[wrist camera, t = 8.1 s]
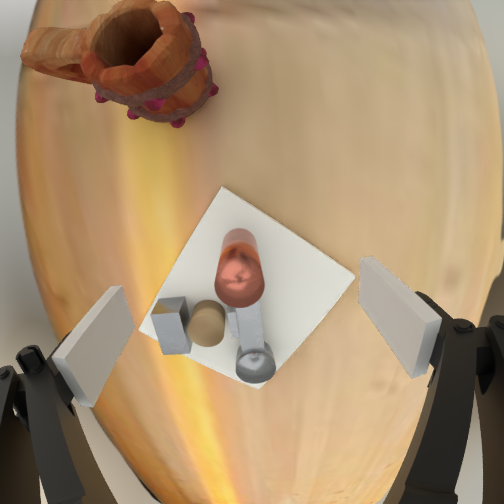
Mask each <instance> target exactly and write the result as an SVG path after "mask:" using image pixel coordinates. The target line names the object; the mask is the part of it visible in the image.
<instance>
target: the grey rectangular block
mask: <svg viewBox="0 0 504 504" xmlns="http://www.w3.org/2000/svg"><path fill="white" fill-rule="evenodd" d="M150 316H151V319H152V322H153V326H154V329H155V332H156V335H157V338H158V341H159V344H160V347H161V350H162V353H163V355H171V354H190V352H191V348H192V343H193V341H192V340H191V339H190V337H189V335H188V326H189V322H190V315H189V311H188V307H187V303H186V299H185V296H182V297H172V298H161V299H158V301H157V303H156V305H155V307H154V308H153V310H152V312H151V314H150Z"/></svg>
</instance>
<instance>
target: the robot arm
mask: <svg viewBox="0 0 504 504" xmlns="http://www.w3.org/2000/svg"><path fill="white" fill-rule="evenodd" d="M358 303H359V304H360V306H361V307H362V308H363V310H364V311H365V312H366V314H367V315H368V317H369V318H370V319H371V321H372V322H373V324H374V325H375V326H376V328H377V329H378V331H379V332H380V334H381V335H382V336H383V338H384V339H385V341H386V342H387V344H388V345H389V347H390V348H391V349H392V351H393V352H394V354H395V355H396V357H397V358H398V360H399V361H400V363H401V364H402V366H403V367H404V369H405V370H406V372H407V373H408V375H409V376H410V378H411V379H412V378H415V377H418V376H421V375H423V374H426V372H427V369H428V366H429V363H430V364H431V365H432V366H433V367H434V370H433V373H432V376H431V378H430V381H429V384H428V386H427V387H429V388H428V392H427V396H426V399H425V403H424V406H423V409H422V412H421V416H420V419H419V422H418V425H417V427H416V430H415V433H414V436H413V439H412V441H411V444H410V446H409V449H408V452H407V454H406V456H405V459H404V461H403V463H402V466H401V468H400V470H399V472H398V475H397V477H396V479H395V481H394V483H393V485H392V487H391V489H390V491H389V493H388V495H387V497H386V499H385V501H384V503H383V504H457V502H458V496H457V495H456V494H455V491H454V490H455V486H456V483H457V479H458V476H459V472H460V469H461V465H462V461H463V457H464V453H465V448H466V443H467V439H468V433H469V428H470V422H471V415H472V408H473V400H474V390H475V394H476V400H477V406H478V413H479V419H480V429H481V438H482V453H483V502H482V504H504V316H502V315H501V316H500V315H496V316H492V317H491V318H490V320H489V323H488V326H487V327H479V328H476V327H475V325H474V324H473V323H472V322H470V321H468V320H465V319H458V318H457V319H453V318H452V317H451V316H450V315H448V314H447V313H446V312H445V311H444V310H443V309H442V308H441V307H440V306H438V305H437V304H436V303H435V302H433V300H432V299H431V298H430V297H428V296H427V295H425V294H423V293H421V292H419V291H417V292H413V291H412V290H411V289H410V288H409V287H408V286H407V285H406V284H405V283H403V282H402V281H401V280H400V279H399V278H398V277H397V276H395V275H394V274H393V273H392V272H391V271H390V270H389V269H387V268H386V267H385V266H384V265H383V264H382V263H380V262H379V261H378V260H377V259H376V258H374V257H373V256H370V257H362V258H360V280H359V299H358ZM134 328H135V324H134V321H133V318H132V315H131V312H130V309H129V306H128V303H127V300H126V297H125V294H124V290H123V287H122V285H119V286H110V288H109V289H108V290H107V291H106V292H105V293H104V294H103V295H102V297H101V298H100V299H99V300H98V301H97V302H96V303H95V304H94V306H93V307H92V308H91V309H90V310H89V311H88V313H87V314H86V315H85V316H84V317H83V318H82V320H81V321H80V322H79V323H78V324H77V326H76V327H75V328H74V329H73V330H72V331H71V332H69V333H68V334H67V335H66V336H65V337H64V338H63V340H62V342H60V343H59V345H58V347H56V348H55V350H54V351H53V352H52V353H51V355H50V356H49V357H48V358H47V360H45V358H44V356H43V354H42V352H41V350H40V348H39V347H38V346H37V345H30V346H27V347H25V348H23V349H22V350H21V351H19V353H18V354H17V355H16V360H17V362H18V363H19V365H20V367H21V369H22V370H23V372H24V373H23V374H17V373H16V371H15V370H14V368H13V366H4V367H1V368H0V504H41V498H40V481H39V475H40V479H41V483H42V486H43V489H44V493H45V496H46V499H47V502H48V504H118V503H117V501H116V499H115V498H114V496H113V494H112V492H111V491H110V489H109V487H108V485H107V483H106V481H105V479H104V477H103V475H102V473H101V471H100V469H99V467H98V465H97V463H96V461H95V459H94V456H93V454H92V452H91V450H90V447H89V444H88V442H87V440H86V437H85V435H84V432H83V429H82V427H81V424H80V421H79V418H78V416H77V413H76V410H75V407H74V406H73V404H72V403H71V401H72V399H73V397H75V398H76V400H77V401H78V403H79V404H80V405H81V406H87V407H94V405H95V403H96V401H97V399H98V397H99V395H100V393H101V391H102V389H103V387H104V385H105V383H106V381H107V379H108V377H109V375H110V373H111V371H112V369H113V367H114V365H115V364H116V362H117V360H118V358H119V356H120V354H121V352H122V350H123V348H124V347H125V345H126V343H127V341H128V339H129V337H130V336H131V334H132V332H133V330H134ZM13 408H14V409H15V411H16V412H17V414H16V415H15V414H14V411H13Z"/></svg>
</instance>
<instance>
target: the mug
mask: <svg viewBox="0 0 504 504" xmlns="http://www.w3.org/2000/svg"><path fill="white" fill-rule="evenodd" d="M194 21H195V17H194V15H193V14H192V13H189V12H184V13H179V12H178V10H177V9H176V7H175V6H173V5H172V4H171V3H170V2H167V1H160V2H157V1H155V0H122V1H119V2H118V3H116V4H115V5H113V7H112V9H111V10H110V12H109V13H106V14H102V15H98V16H97V17H96V18H95V19H94V20H93V21H92V23H91V24H90V25H89V26H88V28H87V29H65V28H57V27H44V28H37V29H35V30H33V31H31V32H30V34H29V36H28V38H27V40H26V42H25V43H24V46H23V49H22V52H21V55H20V57H21V60H22V62H23V64H24V65H25V66H28V67H30V68H33V69H34V70H35V71H38V72H41V73H44V74H47V75H51V76H54V77H58V78H62V79H66V80H72V81H77V82H82V83H87V84H93V86H94V88H95V89H96V91H97V92H96V93H95V100H96V101H97V103H104V102H107V101H109V100H112V101H114V102H117V103H119V104H123V105H127V106H128V107H129V109H128V112H127V116H128V117H129V118H130V119H133V120H135V119H138V118H139V117H143V118H145V119H147V120H151V121H154V122H163V123H165V122H170V123H171V125H172V126H173V127H174V128H180V127H182V126H183V124H184V123H185V118H186V117H188V116H189V115H191V114H193V113H194V112H195V111H196V110H198V109H199V108H200V107H201V106H202V105H203V104H204V103H205V101H206V100H207V99H208V97H211V96H214V95H216V94H217V93H218V90H219V88H218V87H217V86H216V85H215V84H214V83H213V82H212V71H211V67H210V65H209V60H208V59H207V57H206V54H207V53H206V50H205V49H204V48H201V41H200V38H199V34H198V32H197V29H196V27H195V26H194Z"/></svg>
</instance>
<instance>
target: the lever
mask: <svg viewBox="0 0 504 504" xmlns="http://www.w3.org/2000/svg"><path fill="white" fill-rule="evenodd" d="M214 288H215V292H216V294H217V296H218V298H219V299H220V300H221V301H222V302H223V303H224V304H226V305H228V308H227V315H228V321H229V327H230V332H231V338H239V336H240V342H241V349H240V350H239V351H238V352H237V354H236V374H237V376H238V377H239V378H240V379H241V380H242V381H244V382H247V383H251V384H258V383H263V382H266V381H268V380H269V379H271V378H272V377H273V375H274V374H275V372H276V364H275V359H274V354H273V352H272V350H271V349H270V348H269V347H267V346H265V345H264V339H263V330H262V320H261V311H260V302H259V299H260V298H261V296H262V295H263V292H264V288H265V282H264V277H263V272H262V268H261V263H260V258H259V253H258V248H257V244H256V239H255V237H254V235H253V234H252V233H251V232H250V231H248V230H246V229H243V228H236V229H233V230H231V231H229V232H228V233H227V234H226V235H225V237H224V239H223V243H222V248H221V252H220V257H219V262H218V267H217V272H216V277H215V282H214Z"/></svg>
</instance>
